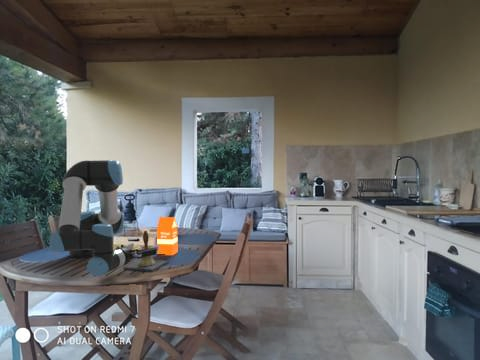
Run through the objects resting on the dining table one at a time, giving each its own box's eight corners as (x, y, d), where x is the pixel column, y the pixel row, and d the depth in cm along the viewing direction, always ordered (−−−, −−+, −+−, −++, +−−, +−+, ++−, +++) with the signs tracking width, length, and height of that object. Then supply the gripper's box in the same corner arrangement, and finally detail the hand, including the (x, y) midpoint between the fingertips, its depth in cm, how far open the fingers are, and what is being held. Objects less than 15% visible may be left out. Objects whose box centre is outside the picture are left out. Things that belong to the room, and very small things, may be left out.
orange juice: (172, 255, 193) (171, 218, 192) (157, 254, 194) (156, 218, 193) (177, 251, 200) (177, 216, 199) (163, 251, 202) (162, 215, 201)
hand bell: (140, 267, 167) (139, 233, 166) (136, 263, 174) (135, 230, 174) (157, 264, 171) (157, 231, 170) (153, 260, 178) (152, 228, 178)
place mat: (123, 269, 168) (123, 267, 168) (141, 260, 182) (141, 258, 182) (152, 271, 163) (152, 269, 163) (168, 262, 178) (168, 260, 178)
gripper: (93, 264, 154) (122, 252, 175) (145, 268, 147) (169, 256, 168) (93, 247, 154) (122, 237, 174) (144, 250, 147) (168, 240, 167)
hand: (145, 246), depth 171 cm, fingers open, 13 cm apart
